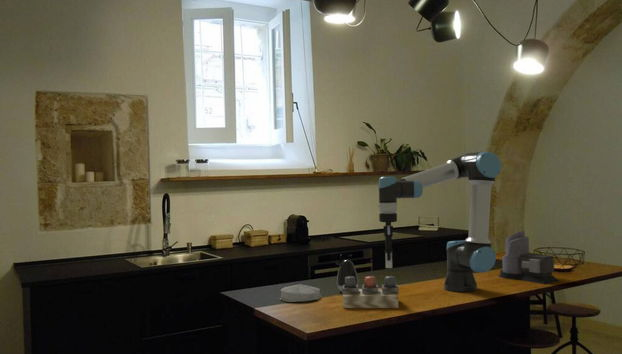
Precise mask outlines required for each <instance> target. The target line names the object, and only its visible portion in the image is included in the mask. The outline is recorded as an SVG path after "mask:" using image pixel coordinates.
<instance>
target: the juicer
mask: <svg viewBox="0 0 622 354" xmlns="http://www.w3.org/2000/svg"><path fill="white" fill-rule="evenodd" d="M525 234H526V232H525V230H520V231H518V232H515V233H512V234H510V235H509V236H507V237H506V238H505V255H503V256H502V259H501V261H502V269H501V270H500V271H499V274H498V275H497V277H498V278H502V279H505V280H515V281H516V280H517V281H524V282H528V283H529V282H530V283H536V284H540V285H548V284H553V283H558V282H559V280H558V279H557V278H556V277H555V275H553V273H554V272H555V259H554V258H553V257H554V255H550V254H549V255H548V254H541V253H534V252H533V253H531V252H530V241H529V239H530V238H529V237H528V236H526V235H525Z"/></svg>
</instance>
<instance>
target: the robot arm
mask: <svg viewBox="0 0 622 354" xmlns="http://www.w3.org/2000/svg"><path fill="white" fill-rule="evenodd" d="M501 170H502V163H501V160H500V158H499V157H498V155H497V154H495V153H494V152H491V151H479V152H477V151H476V152H468V153H467V152H466V153H465V154H462V155H459V156H457V157H455V158H452V159H449V160H446V163H444V164H441V165H438V166H437V165H436V166H434V167H432V168H428V169H425V170H422V171H419V172H417V173H414V174H410V175H407V176H405V177H401V178H397V177H396V176H381V177H379V179H378V201H379V202H378V205H377V208H379V209H378V210H379V215H378V216H379V217H378V219H379V222H380V223H385V225H383V236H384V240H385V241H384V242H385V248H384V249H385V250H384V251H383V253H385V269H393V253H394V250H393V242H392V241H393V231H394V226H393V225H392V223H396V222H397V221H398V213H397V212H398V201H397V200H398V199H419V198H420V197H422V195H423V190H424V189H425V188H428V187H431V186H435V185H436V184H439V183H442V182H445V181H449V180H458V179H463V178H465V179H466V178H468V180H467V181H468V182H469V183H470V184H471V188H470V189H471V191H470V206H469V221H468V222H469V223H468V237H467V238H465V240H464V239H463V240H451V241H447V243H446V260H447V261H446V264H447V265H446V266H447V267H446V268H447V269H446V270H447V271H446V272H447V274H446V275H445V279H444V282H443V289H444V290H447V291H450V292H458V293H459V292H461V293H465V292H475V291H477V290H478V284H477V281H476V278H475V275H474V273H473V272H477V273H487V272H488V271H490V270H492V268H493V267H494V266H495V263H496V262H497V261H496V260H497V256H496V252H495V250H494V249H493V248H492V241H491V240H490V239H489V232H490V231H489V230H490V214H491V213H490V210H491V195H492V185H494V184H495V183H496V177H497V176H499V174H500V173H501Z"/></svg>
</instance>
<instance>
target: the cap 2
mask: <svg viewBox="0 0 622 354" xmlns="http://www.w3.org/2000/svg"><path fill="white" fill-rule="evenodd" d="M384 285H385V287H395V285H396V276H392V275H387V276H384Z"/></svg>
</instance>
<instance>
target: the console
mask: <svg viewBox="0 0 622 354" xmlns="http://www.w3.org/2000/svg"><path fill="white" fill-rule="evenodd" d="M399 289H400V288H399V285H398V284H395V287H385V284H382V285H381V288H379V285H378V284H375V287H372V288H368V287H365V284H362V285H361V288H359V284H358V285H355V287H353V288H347V287H345V285H343V286H342V291H341V294H342V308H343V309H399V294H400V293H399V291H400V290H399Z"/></svg>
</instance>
